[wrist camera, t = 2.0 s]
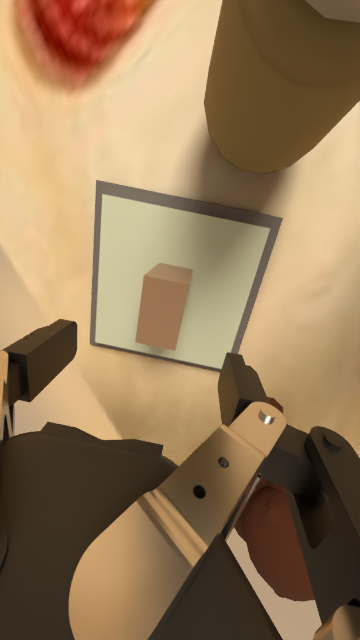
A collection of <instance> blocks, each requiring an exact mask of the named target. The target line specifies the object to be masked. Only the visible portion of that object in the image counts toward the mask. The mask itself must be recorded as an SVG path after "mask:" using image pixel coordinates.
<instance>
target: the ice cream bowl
mask: <svg viewBox="0 0 360 640" xmlns="http://www.w3.org/2000/svg"><path fill="white" fill-rule="evenodd" d="M267 399H268V401H269V404H270V405H272V406H274V407H275V408H277V409H278V410H279V411H280V412H281V413H282V414H283V407H282V406H281V405H280V404H279V403H278V402H277V401H276V400H275V399H274V398H269V397H267ZM234 528H235V529H236V531H237V533H238V535H239V536H240V537H241V538H242V539H244V541H245V542H246V543H247V547H248V551H249V555H250V559H251V560H252V562H253V564H254V566H255V568H256V570H257V572H258V573H259V574H260V576H261V577H262V578H263V579H264V580H265V581H266V582H267V583H268V585H270V586H271V588H273V590H274V592H275V593H276V594H277V595H278V596H279V597H282V598H284V597H285V598H287V599H290V600H293V601H308V600H315V598H314V594H313V590H312V587H311V583H310V580H309V576H308V572H307V569H306V565H305V561H304V558H303V554H302V551H301V547H300V543H299V540H298V536H297V533H296V529H295V525H294V522H293V518H292V514H291V511H290V507H289V504H288V500H287V496H286V493H285V489H284V488H283V487H281V486H279V485H277V484H275V483H273V482H271V481H269V480H267V479H265V478H264V477H262V478H261V479H260V481H259V483H258V485H257V486H256V488H255V490H254V492H253V493H252V495H251V497H250V498H249V500H248V502H247V504H246V505H245V507H244V509H243V511H242V512H241V514H240V516H239V518H238V520H237V522H236V524H235V526H234Z"/></svg>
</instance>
